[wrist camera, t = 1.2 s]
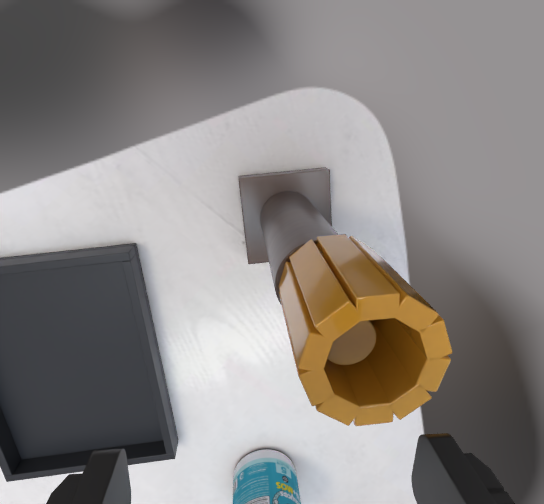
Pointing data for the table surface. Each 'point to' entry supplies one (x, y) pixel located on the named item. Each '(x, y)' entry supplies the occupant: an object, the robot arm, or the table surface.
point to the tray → (79, 363)
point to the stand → (295, 235)
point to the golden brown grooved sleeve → (346, 314)
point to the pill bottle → (265, 479)
